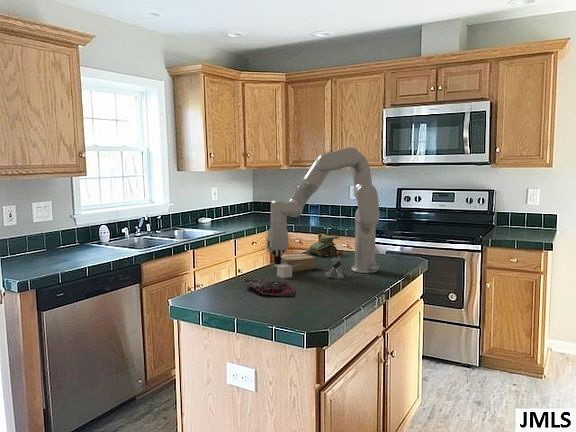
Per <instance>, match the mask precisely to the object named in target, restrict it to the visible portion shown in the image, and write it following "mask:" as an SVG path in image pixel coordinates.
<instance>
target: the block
mask: <svg viewBox="0 0 576 432" xmlns="http://www.w3.org/2000/svg"><path fill="white" fill-rule="evenodd" d="M276 276H277V277H278V278H282V279H286V278H292V277H293V272H292V266H291V265H288V264H282V265H277V267H276Z"/></svg>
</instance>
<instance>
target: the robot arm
mask: <svg viewBox="0 0 576 432" xmlns="http://www.w3.org/2000/svg"><path fill="white" fill-rule="evenodd" d="M346 168H350V169H351V172H352V173H351V174H352V179H353V191H354V192H353V194H354V197H355V200H356V202H357V209H356V211H355V214H354V224H355V225H354V226H355V233H354V234H355V236H354V237H355V238H354V239H355V241H354V243H355V244H354V265H352V266H351V269H350V270H351V271H352V272H356V273H360V274H370V273H371V274H372V273H376V272H378V271H379V269H380V265H377V261H376V260H375V259H376V237H377V236H376V234H377V233H376V231H377V230H376V229H377V228H376V226H377V224H378V223H379V222H380V205H379V202H380V201H379V196H378V190H377V189H376V187H375V186H374V184H373V181H372V174H371V167H370V164H369V161H368V160H367V158H366V157H365V156H364V155H363V154H362V152H360V151H359V149H357V148H355V147H352V146H347V147H344V148H342V149H339V150H335V151H330V152H325V153H324V152H323V153H321V154H319V155H318V157H317V158H316V159H315V161H314V162H313V164H312V165H311V167H310V168H309V170H308V172H307V173H306V175H305V176H304V177H303V179H302V181H301V182H300V183H299V184H300V185H299V186H298V187H297V189H296V191H294V193H293V194H292V196H291V198H290V199H289V201H285V200H279V199H275V200H274V199H273V200H272V201H271V202H270V203H271V204H270V228H269V229H268V231H267V237H266V249H267V253H269V254H272V255H273V261H274V263H275V264H277V265H279V264H281V256H282V255H284V253H285V252H288V248H289V232H288V231H289V230H288V228H287V227H288V226H289V223H287V217H293V218H297V217H299V216H301V215H302V213H303V211H304V207H305V205H306V203H307V202H308V201H309V199H310V198H311V197H312V195H314V194H315V193H316V192H317V191H318V190H319V189H320V188H321V186H322V184H323V182H324V181H325V180H326V178H327V177H328V175H329V173H330V172H333V171H339V170H342V169H346Z"/></svg>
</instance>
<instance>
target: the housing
mask: <svg viewBox="0 0 576 432" xmlns="http://www.w3.org/2000/svg"><path fill="white" fill-rule="evenodd" d="M281 260H283V261H287V262H289V265H291V266H292V273H294V272H300V271H306V270H314V269H316V267H317V266H316V263H317V262H316V260H317V258H316V257H315V256H313V255H310V254H305V253H302V252H293V253H288V254H287V253H286V254H282V256H281ZM273 266H274V267H275V268H277V266H275V263H274V265H273Z"/></svg>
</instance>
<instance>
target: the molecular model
mask: <svg viewBox="0 0 576 432" xmlns="http://www.w3.org/2000/svg"><path fill="white" fill-rule="evenodd" d="M336 255H337V256H338V258H337V257H333V258H332V259H331V261H332V263H333V264H332V266H333V267H332V268H331V269H330V271H327V272H326V273H325V277H326V278H327V279H329V278H331V277H332V273H333V271H334V270H335V269H336V270H335V271H336V274H337V278H338V279H339V280H341V279H343V278H344V277H345V276H344V274H343V273H342V272H343V269H341V266H342V262H341V261H340V260H341V258H342V257H343V255H344V254H343V252H342V251H341V250H340V251H337V252H336Z"/></svg>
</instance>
